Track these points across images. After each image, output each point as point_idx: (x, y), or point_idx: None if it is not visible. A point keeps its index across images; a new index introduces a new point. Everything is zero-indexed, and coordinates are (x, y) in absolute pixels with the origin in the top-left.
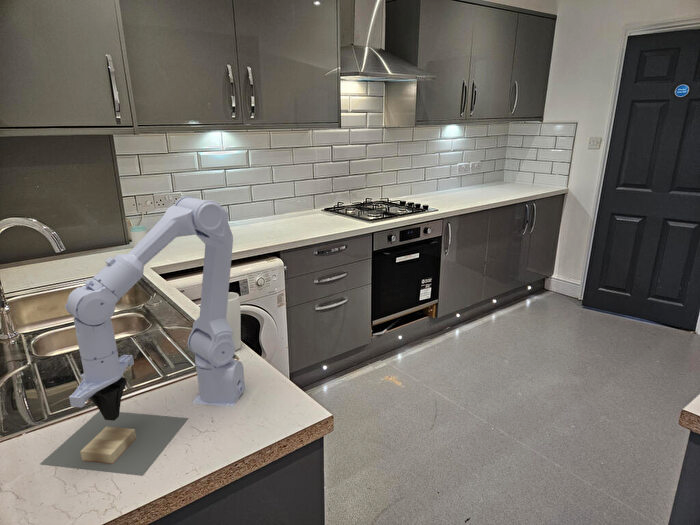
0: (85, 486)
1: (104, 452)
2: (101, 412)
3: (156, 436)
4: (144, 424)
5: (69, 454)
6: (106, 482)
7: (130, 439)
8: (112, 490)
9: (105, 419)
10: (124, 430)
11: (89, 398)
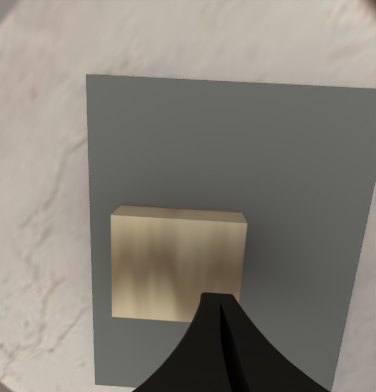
0: (49, 261)
1: (117, 294)
2: (195, 314)
3: None
4: (299, 296)
5: (141, 144)
6: (71, 303)
7: None
8: (51, 329)
9: (200, 297)
10: None
11: (146, 382)
